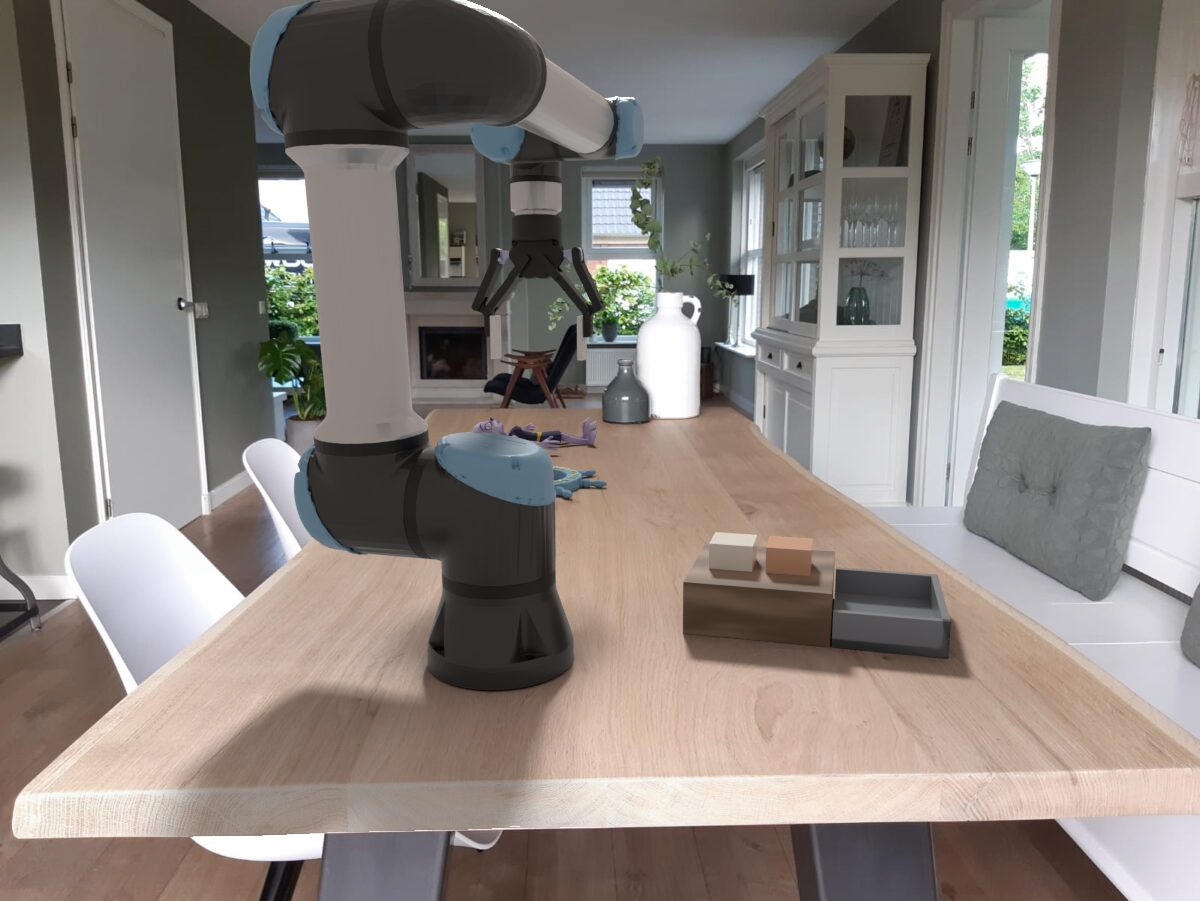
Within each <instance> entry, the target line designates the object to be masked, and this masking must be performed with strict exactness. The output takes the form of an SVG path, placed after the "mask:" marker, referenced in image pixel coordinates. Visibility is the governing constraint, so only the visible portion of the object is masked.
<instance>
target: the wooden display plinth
mask: <svg viewBox="0 0 1200 901" xmlns="http://www.w3.org/2000/svg"><path fill="white" fill-rule="evenodd" d="M709 543H710V542H704V545H703V547H702V548H701V550H700V552H699V553H698V555H697V557H696V559H695V561H693V564H692V566H691V567H690V569H689V571H688V573H687V575H686V576H685V579H684V580H683V582H682V586H683V589H682V603H683V604H682V634H689V635H699V636H708V637H719V638H728V639H740V640H750V641H762V642H773V643H780V644H781V643H782V644H783V643H784V644H792V645H793V644H795V645H803V646H804V645H805V646H814V647H825V648H830V647H831V637H832V636H831V635H832V622H833V607H834V589H835V559H836V551H832V550H819V549H813V555H812V568H811V575H810V576H802V575H788V574H775V573H765V570H766V546H760V545H757V559H756V562H755V565H754V568H753V571H752V572H749V571H736V570H722V569H709Z"/></svg>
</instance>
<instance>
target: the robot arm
mask: <svg viewBox="0 0 1200 901" xmlns="http://www.w3.org/2000/svg"><path fill="white" fill-rule="evenodd" d="M251 47H252V48H251V50H250V58H249V61H250V62H249V81H250V87H251V92H252V97H253V100H254V103H255V105H256V107H257V108H258V109H260V110H261V115H260V117H261V119H262V120H263V121H264V123H265V124H266V125H267V127H269V128H270V129H271V130H272V131H273V132H274V133H276V134H277V135H280V136H282V137H283V139H284V149H285V151H284V152H285V154H286V155H287V156H288V157H289V158H290V159H291V160H292V161H293V162H295V164H296V165H297V166H299V167H300V169H301V170H302V172H303V174H304V177H303V178H304V186H305V196H306V206H307V217H308V228H309V238H310V239H309V240H310V247H311V249H310V250H311V258H312V260H311V261H312V270H313V280H314V281H313V282H314V290H315V291H314V292H315V302H316V311H317V322H318V323H317V324H318V333H319V344H320V353H321V354H320V356H321V364H322V374H323V384H324V386H323V387H324V397H325V406H326V415H325V417H324V419H322V421H321V422H320V423H319V425H317V427H316V428H315V429H314V431H313V444H311V445H310V446H308V447H307V449H305V450H304V452H303V453H302V454H301V456H300V457H299V460H298V463H297V466H298V468H299V471H298V472H296V473H295V474H294V480H293V496H294V497H293V498H294V502H295V504H294V505H295V507H296V511H297V515H298V517H299V520H300V521H301V522H300V523H301V524H302V526H303V528H304V529H305V531H306V532H307V533H308V534H309V535H310V537H311V538H312V539H314V540H315V541H317V542H318V543H319V544H320V545H321V546H324V547H326V548H329V549H332V550H336V551H337V550H338V551H345V552H348V553H350V554H353V555H357V556H358V555H366V556H367V555H378V556H387V557H400V558H401V557H402V558H411V559H412V558H413V559H423V560H436V561H440V563H441V564H440V565H441V566H440V567H441V585H442V586H441V587H442V588H441V589H442V590H441V596H440V599H439V603H438V606H437V609H436V613H435V617H434V619H433V624H432V628H431V630H430V633H429V637H428V640H427V665H428V666H427V667H428V669H429V671H430V673H431V674H432V675H433V676H434V677H435V678H437V679H438V680H440V681H441V682H444V683H447V684H450V685H453V686H456V687H460V688H464V689H471V690H479V691H480V690H482V691H483V690H484V691H499V690H501V691H502V690H503V691H504V690H515V689H522V688H526V687H531V686H534V685H535V686H536V685H539V684H541V683H545V682H548V681H550V680H551V681H552V680H553V679H555V678H557V677H558V676H559V677H560V675H562V674H564V673H565V672H566V671H567V670H568V669H570V667H571V666H572V664H573V662H574V660H575V659H574V658H575V646H574V644H575V640H574V634H573V631H572V629H571V625H570V624H569V621H568V620H569V619H568V618H567V615H566V612H565V609H564V605H563V604H562V603H563V602H562V600H561V598H560V594H559V592H558V588H557V576H556V575H557V574H556V573H557V572H556V570H557V569H556V566H557V564H556V563H557V561H556V559H557V558H556V554H557V553H556V551H557V549H556V500H557V495H556V494H557V493H556V488H555V486H554V481H555V479H554V475H553V466H554V464H553V460H552V457H551V455H550V453H548V451H547V449H544V448H542V447H540V446H539V445H537V444H535V443H533V442H531V441H528V440H524V439H521V438H517V437H512V436H507V435H501V434H493V433H471V431H470V432H468V431H467V432H464V431H463V432H455V433H448V434H446V435H443V436H442V437H440V438H439V440H438V441H437V444H436V446H432V445H431V444H430V437H429V424H428V422H427V421H426V420H425V419H423V418H422V417H421V416H420V415H419V414H417V412H415V411H414V409H413V401H412V400H413V399H412V388H411V386H412V385H411V376H410V375H411V374H410V372H411V371H410V361H409V358H410V357H409V346H408V331H407V317H406V307H405V306H406V304H405V291H404V289H405V288H404V279H403V277H404V275H403V265H402V263H403V262H402V252H401V237H400V223H399V221H400V220H399V208H398V195H397V183H396V182H397V181H396V171H397V168H398V166H399V165H400V164H401V163H402V162H403V161H404V160H405V159H406V158H407V156H408V155H409V154H410V144H409V130H422V129H429V128H430V129H431V128H440V127H448V126H457V125H469V126H470V127H469V133H470V139H471V142H472V144H473V145H474V146H473V147H474V148H475V150H477V151H478V152H479V154H480V155H482V156H484V157H485V158H488V160H491V162H494V163H496V164H497V163H498V164H504V165H508V166H509V173H510V174H509V176H510V177H509V178H510V181H509V183H510V186H509V187H510V211H511V212H512V213H514V215H513V216H511V218H510V231H511V232H510V236H511V237H510V238H511V247H510V250H505V249H502V248H496V247H494V248H492V249H491V250H490V257H489V264H488V267H487V269H486V272H485V274H484V276H483V278H482V281H481V282H480V286H479V288H478V290H477V292H476V294H475V297H474V298H473V302H472V304H471V310H473V311H474V312H479V313H480V314H482V315H483V321H484V323H483V325H484V328H483V329H484V335H485V337H489V340H490V360H499V359H502V357H503V356H502V355H503V354H502V352H503V351H502V348H503V347H502V315H499V314H497V312H498V310H499V309H500V308H501V307H502V305H503V304H504V303H505V301H506V300H507V299H508V298H509V296H510V295H511V293H512V292H514V290H515V289H516V287H517V286H518V284H519V283H520V282H521V281H522V280H524V279H526V280H536V279H541V280H546V279H547V280H550V278H552V279H553V281H555V282H556V283H557V285H559V288H561V289H562V290H563V292H564V293H565V294H566V295H567V296H568V298H569V300H570V301H571V302H572V303H573V304H574V305H575V307H576V308H577V309H578V311H580V313H581V315H577V316H576V358H577V359H576V361H581V362H582V361H586V360H587V359H588V339H587V338H593V336H594V335H593V334H594V315H596V314H597V313H600V312H603V311H605V309H606V308H607V307H606V304H605V301H604V300H603V298H602V296H601V293H600V291H599V289H598V286H597V285H596V283H595V280H594V279H593V277H592V275H591V273H590V271H589V268H588V267H587V264H586V260H585V251H584V249H583V248H582V247H577V246H574V247H572V248H568V249H564V246H563V218H562V216H561V215H559V213H561V212H562V211H563V207H562V206H563V202H562V201H563V190H562V189H563V186H562V183H563V182H562V162H572V161H573V162H574V161H599V160H601V161H603V160H613V161H618V160H620V159H631V158H636V157H637V156H638V155H639V154H640V153H641V150H642V148H643V144H644V141H645V140H644V137H645V122H644V121H645V120H644V114H643V110H642V106H641V104H640V102H639V101H638V99H636V98H634V97H628V96H627V97H619V96H614V97H604V96H602V95H601V94H599V92H598V93H597V91H595V90H593V89H592V88H591V87H590V86H589V85H586V84H585V83H583V82H582V81H580V80H579V79H578V78H576V77H574V76H573V75H572V74H570V73H569V72H567V70H564V69H563V68H561V67H560V66H559V65H557V64H556V63H554V62H553V61H551V60H550V59H548V58H547V57H546V56H545V53H544V50H543V48H542V47H541V45H540V44H539V42H538V40H537V39H536V38H535V37H534V36H533V35H532V34H531V33H529V32H528V31H527V30H525V29H524V28H523V27H521V26H519V25H518V24H517V23H515V22H513V21H512V20H510V19H509V18H507V17H505V16H503V15H501V14H499V13H497V12H495V11H492V10H490V9H488V8H486V7H483V6H481V5H478V4H476V3H474V2H471V1H468V0H309V1H306V2H303V3H301V4H297V5H290V6H286V7H281V8H280V9H277V10H275V11H274V12H272V13H271V14H270V15H269V16H268V17H267V18H266V20H265V21H264V23H263V24H262V25H261V26H260V27H259V29H257V33H256V35H255V37H254V40H253V43H252V46H251ZM565 259H567V261H568V262H569V264H570V263H571V264H572V265H573V268H574V270H575V272H576V275H577V276H578V279H579V281H580V283H581V284H582V287H583V289H584V291H585V293H586V296H587V297H588V299H589V301H590V303H591V304H590V303H589V302H588V300H586V298H585V297H584V296H583V294H582V293H581V292H580V291H579V289H578V288H577V287H576V286H575V284H573V282H572V281H571V280H570V278H569V277H568V275H567V274H566V272H565V271H564V270H563V268H562V267H561V265H562V263H563V262H564V260H565ZM508 260H510V261H511V263H512V265H513V268H512V269H511V270H510V271H509V273H508V274H507V277H506V279H505V280H504V281H503V283H502V284H501V285H500V287H499V288H498V289H497V290H496V292H495V293H494V294H493V296H491V295H492V292H493V290H494V288H495V285H496V284H497V280H498V279H499V277H500V274H501V272H502V270H503V266H504V265H505V264H506V263H507V262H508ZM490 297H491V298H490ZM489 299H490V300H489Z"/></svg>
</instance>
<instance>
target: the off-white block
mask: <svg viewBox="0 0 1200 901" xmlns="http://www.w3.org/2000/svg"><path fill="white" fill-rule="evenodd" d="M708 543H709V569H722V570H736V571H749V572H752V571H753V568H754V565H755V562H756V559H757V546H758V535H757V534H752V533H751V534H750V533H749V534H747V533H736V532H719V531H715V532H714V534H713V536H712V537H711V540H710V541H709V542H708Z"/></svg>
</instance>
